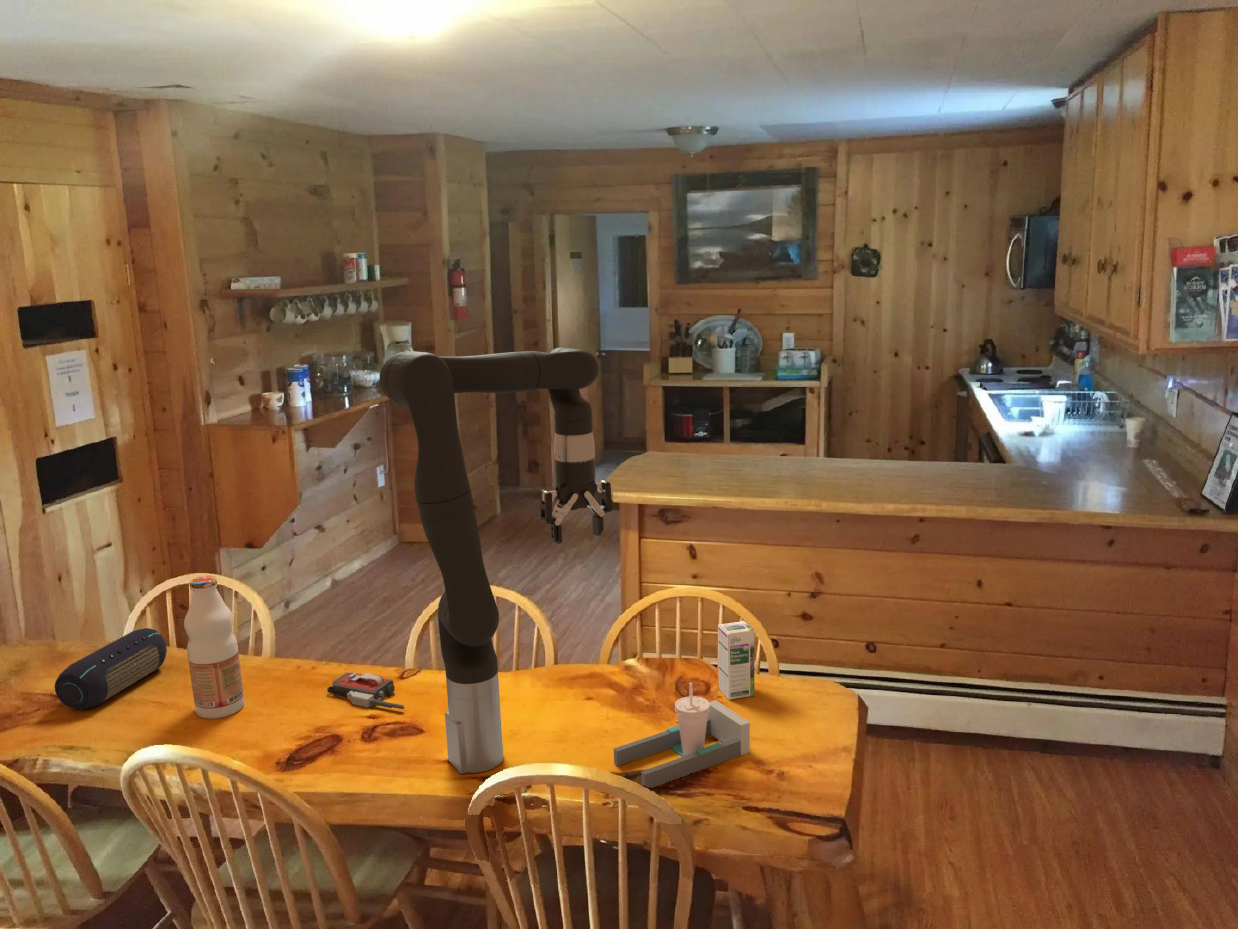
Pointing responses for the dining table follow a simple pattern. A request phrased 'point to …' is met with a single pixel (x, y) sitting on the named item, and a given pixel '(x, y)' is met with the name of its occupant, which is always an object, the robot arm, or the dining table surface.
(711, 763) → the guide channel
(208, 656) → the fruit juice
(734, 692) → the syrup box
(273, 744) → the dining table surface
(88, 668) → the portable speaker
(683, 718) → the smoothie
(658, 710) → the dining table surface
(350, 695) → the walkie-talkie
